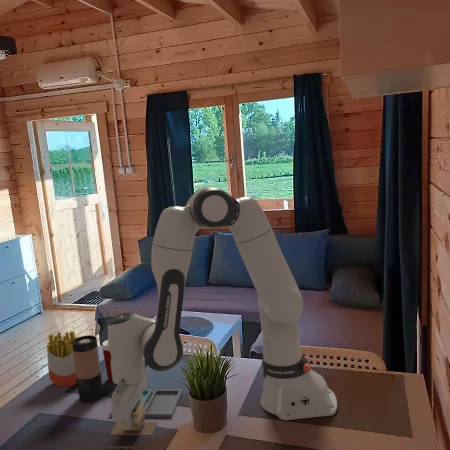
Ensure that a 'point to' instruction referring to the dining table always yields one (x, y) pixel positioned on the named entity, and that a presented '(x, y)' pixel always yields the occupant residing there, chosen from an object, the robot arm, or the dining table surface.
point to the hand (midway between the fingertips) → (133, 417)
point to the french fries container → (61, 359)
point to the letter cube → (136, 418)
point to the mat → (145, 430)
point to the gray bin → (163, 403)
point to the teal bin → (142, 398)
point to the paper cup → (107, 360)
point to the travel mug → (87, 368)
